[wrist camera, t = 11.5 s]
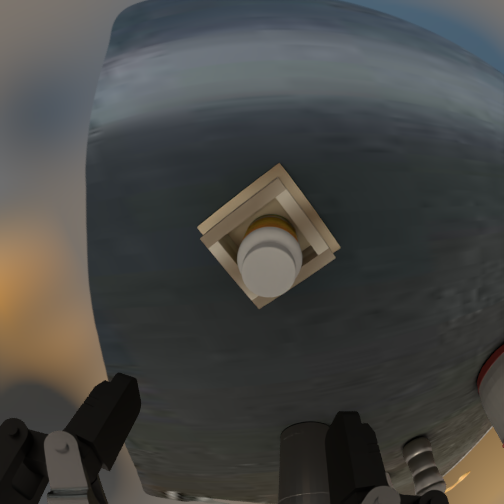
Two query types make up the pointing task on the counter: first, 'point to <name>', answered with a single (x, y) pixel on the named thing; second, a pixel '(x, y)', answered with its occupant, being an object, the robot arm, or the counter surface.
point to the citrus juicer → (493, 390)
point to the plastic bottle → (423, 466)
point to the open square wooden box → (261, 203)
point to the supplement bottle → (269, 256)
